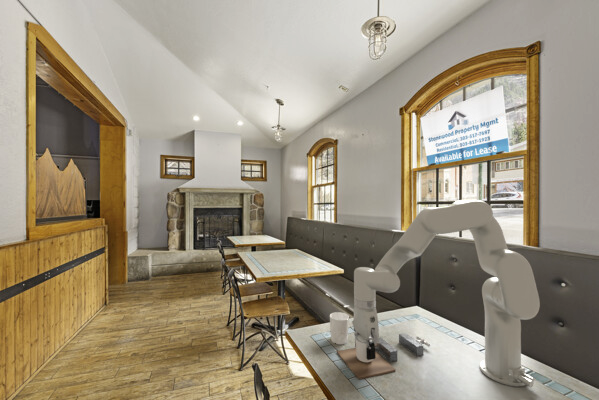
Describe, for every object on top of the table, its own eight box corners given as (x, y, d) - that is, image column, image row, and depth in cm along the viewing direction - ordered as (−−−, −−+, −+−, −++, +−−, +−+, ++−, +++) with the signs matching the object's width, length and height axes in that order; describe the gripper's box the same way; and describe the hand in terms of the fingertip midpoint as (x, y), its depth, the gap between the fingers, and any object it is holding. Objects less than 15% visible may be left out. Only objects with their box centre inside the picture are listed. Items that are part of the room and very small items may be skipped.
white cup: (334, 346, 105) (334, 321, 105) (326, 336, 112) (326, 313, 112) (352, 343, 107) (352, 318, 107) (343, 334, 114) (344, 311, 114)
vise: (434, 352, 101) (434, 343, 101) (390, 361, 95) (390, 352, 95) (415, 339, 110) (415, 331, 110) (374, 347, 104) (374, 338, 104)
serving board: (395, 371, 89) (395, 369, 89) (358, 379, 85) (358, 377, 85) (369, 346, 105) (369, 345, 105) (336, 352, 100) (336, 351, 100)
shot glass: (372, 352, 98) (373, 333, 98) (376, 364, 91) (376, 344, 91) (354, 351, 99) (354, 332, 99) (356, 362, 92) (356, 342, 92)
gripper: (388, 311, 88) (389, 365, 88) (361, 293, 104) (361, 339, 104) (369, 313, 86) (369, 369, 85) (344, 296, 102) (344, 342, 102)
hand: (364, 352), depth 95 cm, fingers open, 7 cm apart
